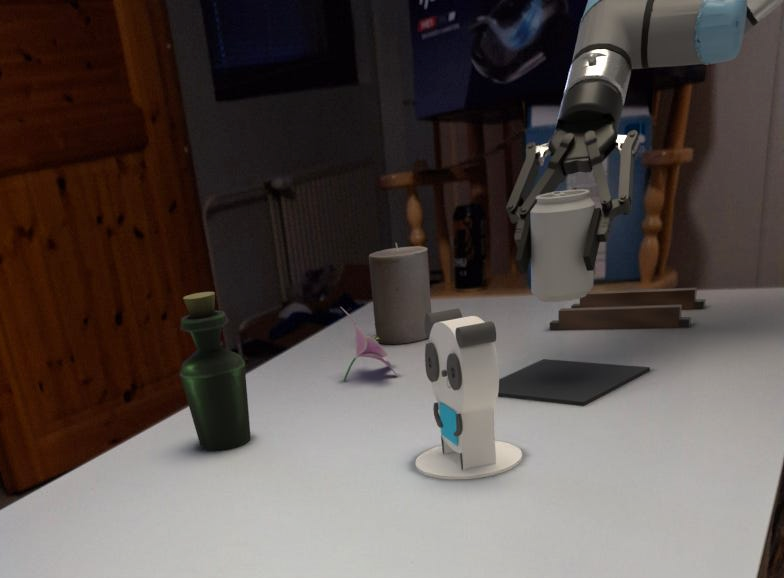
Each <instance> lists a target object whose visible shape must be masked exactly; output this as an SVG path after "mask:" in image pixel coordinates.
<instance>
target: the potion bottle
mask: <svg viewBox="0 0 784 578" xmlns="http://www.w3.org/2000/svg"><path fill="white" fill-rule="evenodd" d="M182 299H183V302H184V304H185V307H186V309H187V312H188V315H185V316H183V317H181V320H180V328H179V329H180V331H184V332H188V333H189V335H190V337H191V339H192V341H193V344H194V346H195V348H196V351H194V352H193V353H192V354H191V355H190V356H189V357H188V358H187V359H186V360H184V361H183V362H182V365H181V367H180V371H179V377H180V381H181V384H182V387H183V391H184V394H185V397H186V401H187V405H188V407H189V411H190V414H191V415H190V416H191V419H192V421H193V425H194V429H195V431H196V435H197V439H198V443H199V446H200V447H202V448H203V449H204V450H208V451H226V450H231V449H235V448H239V447H241V446H243V445H245V444H247V443H248V442H249V441H250V439H251V423H250V412H249V410H250V409H249V399H248V398H249V397H248V387H247V386H248V385H247V375H246V364H245V363H246V362H245V360H244V359H243V357H242V356H241V354H239V353H237V352H235V351H232V350H229V349H228V348H225V347H223V346H221V333H222V332H221V330H222V327H224V326H225V325H226V324H228V323H229V318H228V316H227V315H226V313H225V311H223V310H216V308H215V307H216V301H215V300H216V293H215V292H214V291H202V292H195V293H191V294H189V295H185V296H183V297H182Z"/></svg>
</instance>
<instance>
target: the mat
mask: <svg viewBox="0 0 784 578" xmlns="http://www.w3.org/2000/svg"><path fill="white" fill-rule="evenodd" d="M649 372H651V367H650V366H640V365H639V366H638V365H626V364H625V365H624V364H613V363H612V364H611V363H599V362H586V361H576V360H575V361H573V360H559V359H550V358H549V359H545V358H543V359H541V360H538V361H536V362H534V363H532V364H530V365H528V366H526V367H523V368H521V369H519V370H517V371H514V372H511V373H510V374H507V375H506V376H503V377H501V378H499V391H498V397H500V398H501V397H502V398H508V399H518V400H526V401H535V402H544V403H545V402H546V403H552V404H553V403H555V404H563V405H572V406H580V407H584V406H587V405H589V404H590V403H592V402H594V401H596V400H597V399H600V398H602V397H603V396H605V395H607V394H609V393H611V392H613V391H614V390H617V389H619V388H621V387H622V386H624V385H626V384H628V383H630V382H632V381H634V380H636V379H638V378H640V377H641V376H643V375H645V374H647V373H649Z"/></svg>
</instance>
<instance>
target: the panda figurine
mask: <svg viewBox="0 0 784 578" xmlns="http://www.w3.org/2000/svg"><path fill="white" fill-rule="evenodd" d="M425 332H426V336H427V338H426V339H428V342H427V343H426V344H425V348H424V364H425V365H424V366H425V374H426V377H427V379H428V380H429V381H430V384H431V387H432V390H433V394H434V397H435V400H436V402H433V406H432V407H433V408H432V409H433V410H432V411H433V416H434V420H435V423H436V425H437V427H438V428H440V440H441V441H440V443H441V445H437V446H434V447H432V448H430V449H427V450H425V451H424V452H422V453H421V454H419V456H418V457H416V460H415V468H416V470H417V471H418V472H419V473H421V474H422V475H425V476H427V477H431V478H435V479H441V480H455V481H456V480H457V481H458V480H475V479H482V478H487V477H491V476H492V477H493V476H495V475H500V474H502V473H504V472H507V471H509V470H511V469H513V468H515V467H517V466H518V465H519V464H520V463H521V462H522V460H523V452H522V450H521V449H520V447H518V446H516V445H514V444H511V443H509V442H504V441H500V440H496V436H495V411H494V408H495V406H496V404H497V400H498V397H499V396H498V391H499V379H500V372H499V371H500V370H499V360H498V355H497V354H498V353H497V348H496V341H497V328H496V325H495V322H493V321H492V320H490V321H484V320H483V319H482V318H480V317H479V316H476V315H469V316H464V317H463V315H462V311H461V309H460V308H458V307H457V308H451V309H446V310H440V311H436V312H435V311H434V312H431V313H429V314H426V316H425Z"/></svg>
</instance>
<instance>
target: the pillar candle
mask: <svg viewBox="0 0 784 578" xmlns="http://www.w3.org/2000/svg"><path fill="white" fill-rule="evenodd" d="M394 245H395V247H394V248H386V249H382V250H379V251H375V252H372V253H370V254H369V255H368V261H369V263H368V265H369V275H370V276H369V278H370V284H371V285H370V286H371V287H370V288H371V296H372V306H373V307H372V308H373V317H374V328H375V339H376V338H377V337H379V338H380V339H378V338H377V340H376V341H379V342H378V343H379V344H383V345H402V344H410V343H415V342H419V341H423V340H426V339H428V338H427V336H426V332H425V316H426V314H429V313H432V301H431V285H430V270H429V253H428V250H429V248H428V247H425V246H420V245H417V246H403V247H402V246H401V247H398V246H399V245H398V243H397V242H395V243H394Z"/></svg>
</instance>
